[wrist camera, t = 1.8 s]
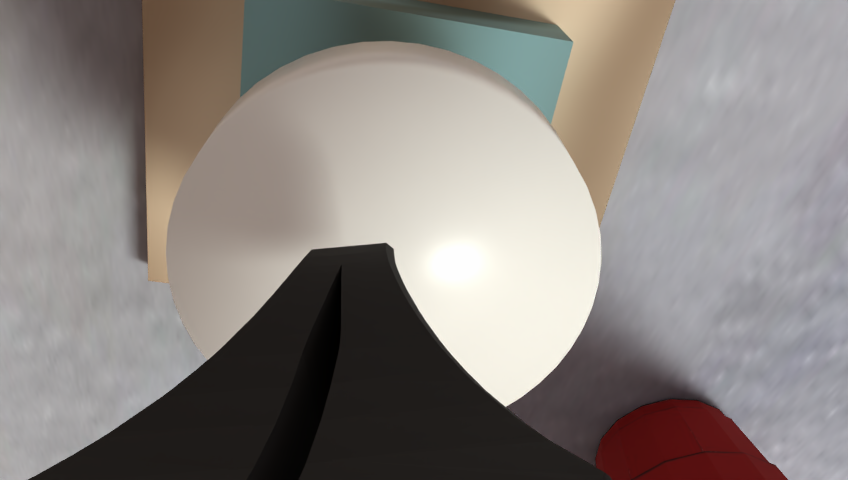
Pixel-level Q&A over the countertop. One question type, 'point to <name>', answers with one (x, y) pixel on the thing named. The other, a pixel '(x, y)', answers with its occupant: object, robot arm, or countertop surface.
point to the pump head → (395, 204)
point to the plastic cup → (681, 446)
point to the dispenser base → (216, 81)
